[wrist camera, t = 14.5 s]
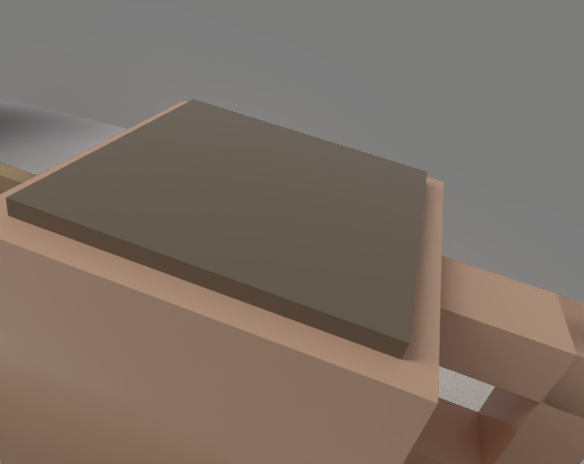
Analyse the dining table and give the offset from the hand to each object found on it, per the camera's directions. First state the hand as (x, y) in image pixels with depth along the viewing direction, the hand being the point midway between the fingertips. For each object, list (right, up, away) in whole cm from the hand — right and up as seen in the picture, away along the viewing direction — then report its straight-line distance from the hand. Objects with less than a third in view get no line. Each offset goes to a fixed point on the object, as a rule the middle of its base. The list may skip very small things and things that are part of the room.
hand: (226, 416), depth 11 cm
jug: (-1, -7, +4) cm, 8 cm away
